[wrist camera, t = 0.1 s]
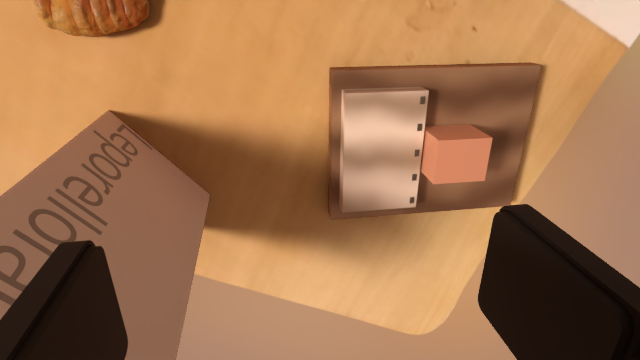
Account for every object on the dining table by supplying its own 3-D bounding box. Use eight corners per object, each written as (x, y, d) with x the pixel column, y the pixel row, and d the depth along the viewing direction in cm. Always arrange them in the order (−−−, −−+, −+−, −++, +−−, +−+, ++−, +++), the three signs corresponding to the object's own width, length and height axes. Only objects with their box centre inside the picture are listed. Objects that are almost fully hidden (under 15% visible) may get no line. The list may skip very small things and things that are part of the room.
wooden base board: (329, 67, 44) (336, 74, 40) (530, 62, 47) (553, 68, 44) (328, 211, 52) (334, 228, 48) (501, 198, 55) (519, 213, 51)
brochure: (210, 195, 48) (158, 448, 21) (179, 224, 49) (90, 501, 22) (108, 110, 42) (-141, 308, 16) (75, 144, 43) (-216, 388, 16)
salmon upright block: (420, 126, 46) (438, 140, 42) (469, 124, 47) (492, 137, 43) (416, 166, 48) (433, 184, 44) (463, 163, 49) (484, 180, 45)
